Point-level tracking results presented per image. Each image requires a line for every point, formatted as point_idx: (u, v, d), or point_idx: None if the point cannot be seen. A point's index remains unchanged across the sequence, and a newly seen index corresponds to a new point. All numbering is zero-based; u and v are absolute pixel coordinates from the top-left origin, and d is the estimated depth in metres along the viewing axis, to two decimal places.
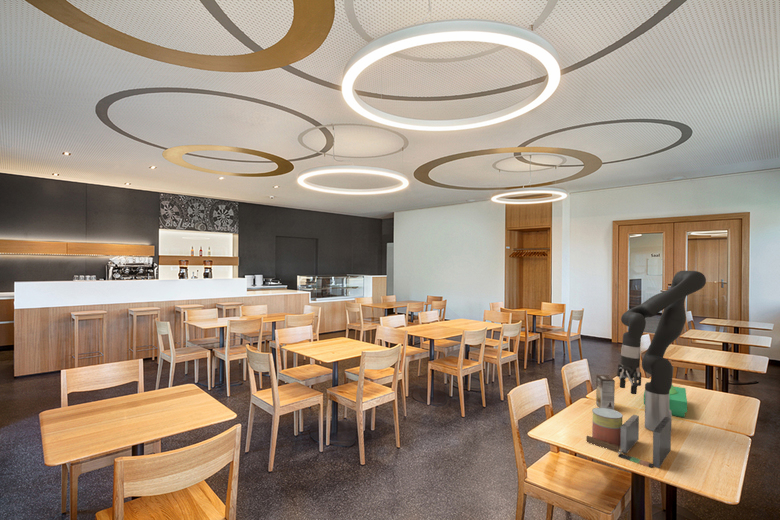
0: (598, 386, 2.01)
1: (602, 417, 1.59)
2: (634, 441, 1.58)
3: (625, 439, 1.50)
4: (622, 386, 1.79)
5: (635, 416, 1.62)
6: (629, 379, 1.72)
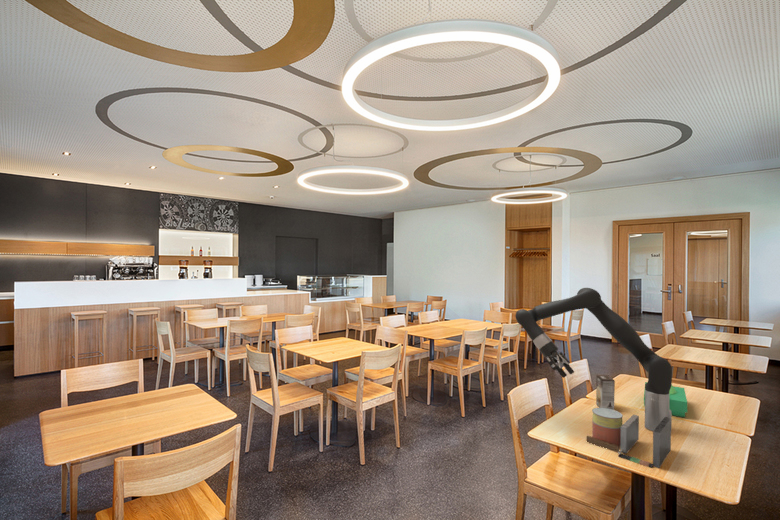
0: (598, 386, 2.01)
1: (602, 417, 1.59)
2: (634, 441, 1.58)
3: (625, 439, 1.50)
4: (570, 372, 1.78)
5: (635, 416, 1.62)
6: (554, 366, 1.76)
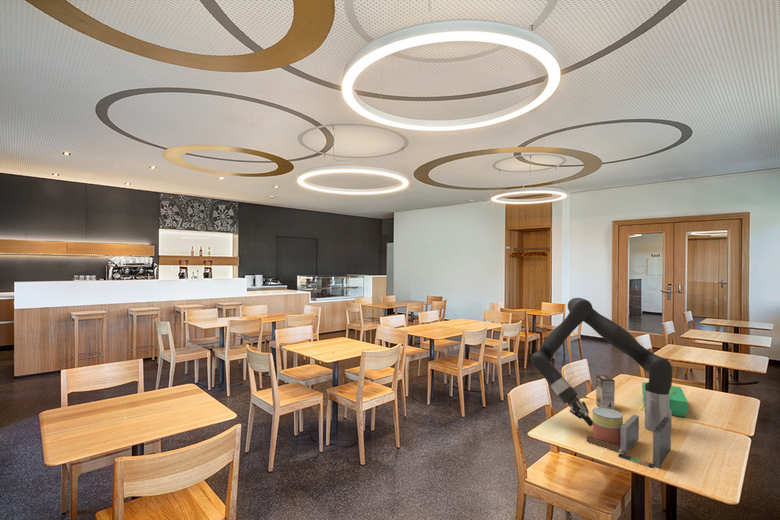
0: (598, 386, 2.01)
1: (602, 417, 1.59)
2: (634, 441, 1.58)
3: (625, 439, 1.50)
4: None
5: (635, 416, 1.62)
6: (577, 413, 1.71)
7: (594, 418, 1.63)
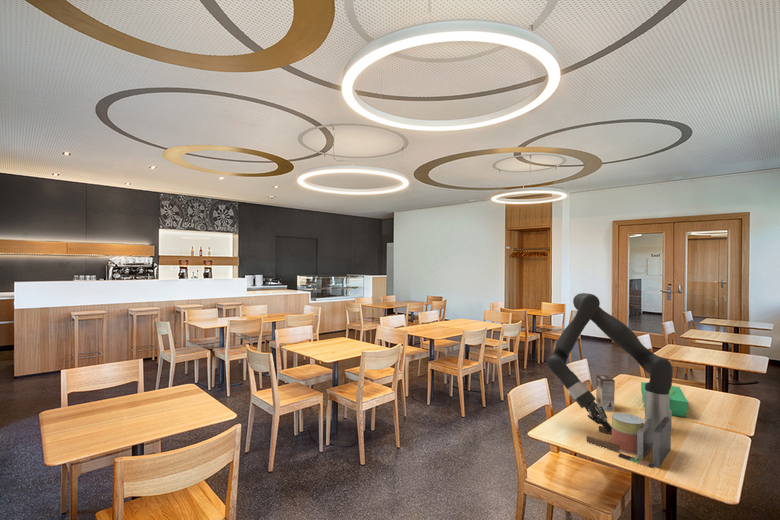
0: (598, 386, 2.01)
1: (622, 423, 1.54)
2: (650, 446, 1.54)
3: (642, 444, 1.46)
4: None
5: (651, 420, 1.58)
6: None
7: (613, 423, 1.58)
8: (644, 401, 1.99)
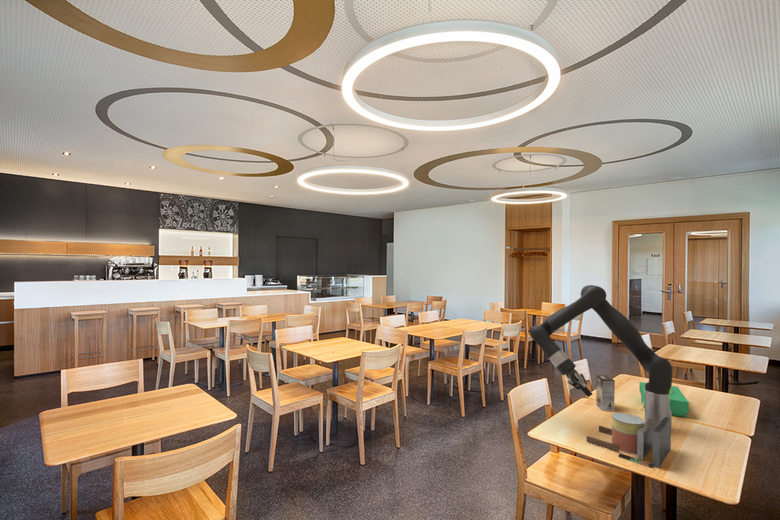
0: (598, 386, 2.01)
1: (623, 423, 1.54)
2: (650, 446, 1.54)
3: (642, 444, 1.46)
4: None
5: (651, 420, 1.58)
6: None
7: (614, 424, 1.57)
8: (644, 401, 1.99)
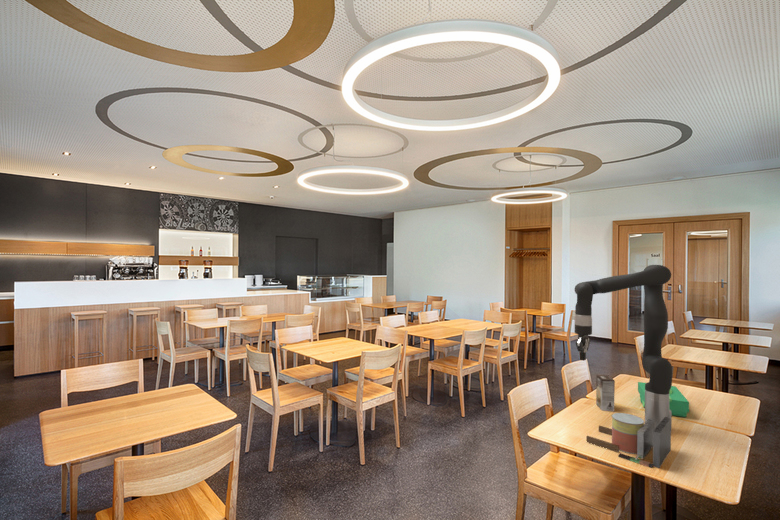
0: (598, 386, 2.01)
1: (623, 423, 1.54)
2: (650, 446, 1.54)
3: (642, 444, 1.46)
4: None
5: (651, 420, 1.58)
6: None
7: (614, 424, 1.57)
8: (644, 402, 1.98)
